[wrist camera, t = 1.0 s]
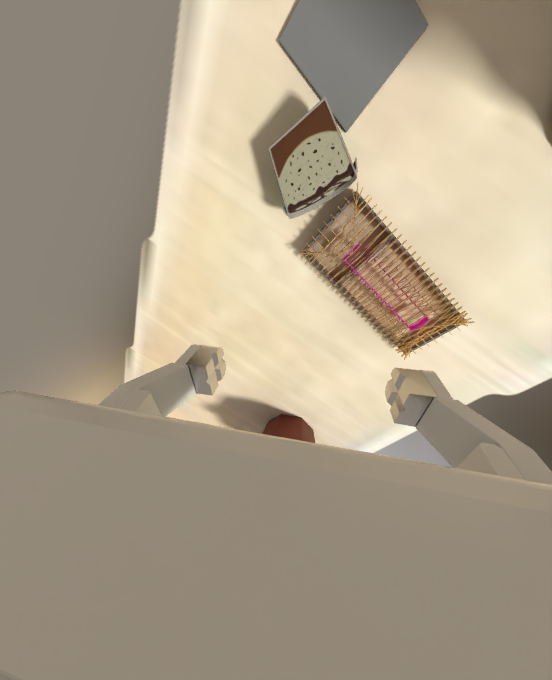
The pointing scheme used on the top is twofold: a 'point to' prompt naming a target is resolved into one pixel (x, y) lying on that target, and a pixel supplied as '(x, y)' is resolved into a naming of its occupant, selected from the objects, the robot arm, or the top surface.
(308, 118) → the food container
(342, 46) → the mat
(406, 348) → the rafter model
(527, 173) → the top surface
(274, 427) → the bucket
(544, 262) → the top surface
